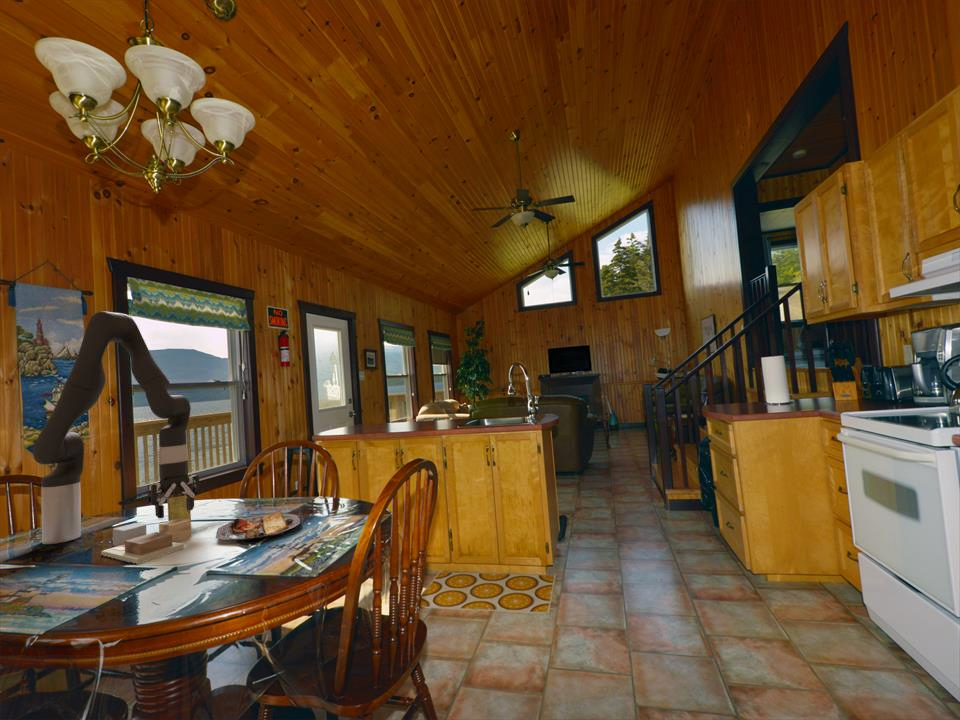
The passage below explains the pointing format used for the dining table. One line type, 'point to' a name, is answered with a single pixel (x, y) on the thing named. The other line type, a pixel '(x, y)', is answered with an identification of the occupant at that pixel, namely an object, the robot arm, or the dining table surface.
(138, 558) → the build board
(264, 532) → the food plate
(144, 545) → the base brick
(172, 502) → the sauce bottle
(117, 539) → the grey brick
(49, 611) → the dining table surface
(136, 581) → the dining table surface
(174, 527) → the oak brick
